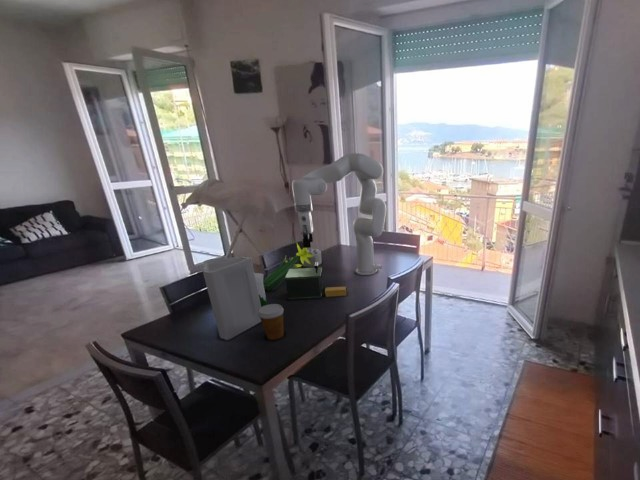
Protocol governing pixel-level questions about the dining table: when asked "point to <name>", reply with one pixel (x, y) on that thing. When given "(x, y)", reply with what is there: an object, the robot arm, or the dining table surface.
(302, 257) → the daffodil flowers
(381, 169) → the robot arm
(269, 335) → the disposable coffee cup
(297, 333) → the dining table surface
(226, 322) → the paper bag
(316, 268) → the bin lid
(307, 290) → the waste bin
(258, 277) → the milk carton
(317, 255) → the lumpy-topped squat cylinder
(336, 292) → the yellow rectangular block
